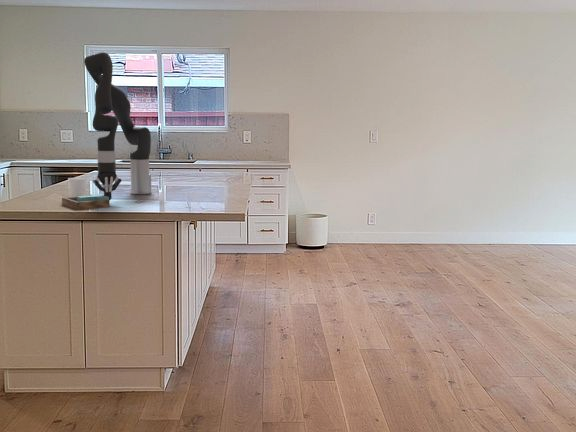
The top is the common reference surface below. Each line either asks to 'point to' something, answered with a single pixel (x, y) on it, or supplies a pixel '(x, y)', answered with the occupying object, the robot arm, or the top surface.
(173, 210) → the top surface
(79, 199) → the teal T-block
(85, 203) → the walnut dock
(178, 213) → the top surface
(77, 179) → the white cup
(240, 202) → the top surface
